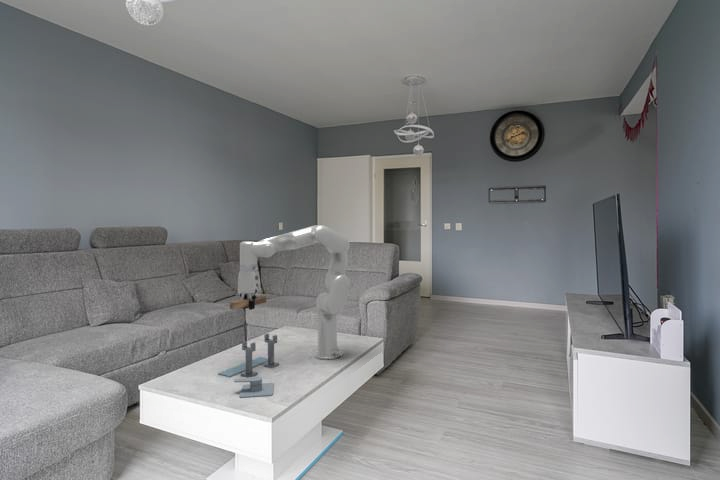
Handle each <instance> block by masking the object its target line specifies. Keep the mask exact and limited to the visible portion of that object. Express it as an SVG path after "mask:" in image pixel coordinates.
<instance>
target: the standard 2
mask: <svg viewBox="0 0 720 480" xmlns="http://www.w3.org/2000/svg"><path fill="white" fill-rule="evenodd" d="M263 339H264V343H267V358H268V362H266V363H263V364H262V365H263V367H264V368H269V369H273V368H275V367H276V368H277V367H278V366H280V363H279V362H275V344H277V343H278V335H277V334H274V335H272V339H270V333H265V334H264V337H263Z"/></svg>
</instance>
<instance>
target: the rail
mask: <svg viewBox="0 0 720 480" xmlns="http://www.w3.org/2000/svg"><path fill="white" fill-rule="evenodd" d="M249 301H250V297H248V299H243V300H242V299H239V300H235V301H229V309H230V310H234V311H236V310H239V309H243V308H245V307H249ZM266 303H267V296H266V295H260V296H258V297H257V298H256V300H255V306H257V305H261V304H266Z"/></svg>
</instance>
